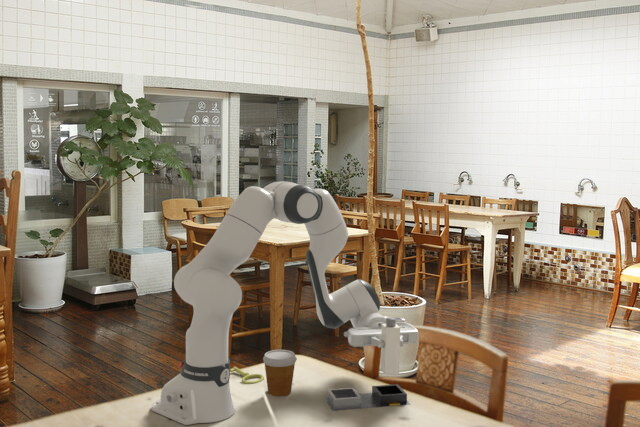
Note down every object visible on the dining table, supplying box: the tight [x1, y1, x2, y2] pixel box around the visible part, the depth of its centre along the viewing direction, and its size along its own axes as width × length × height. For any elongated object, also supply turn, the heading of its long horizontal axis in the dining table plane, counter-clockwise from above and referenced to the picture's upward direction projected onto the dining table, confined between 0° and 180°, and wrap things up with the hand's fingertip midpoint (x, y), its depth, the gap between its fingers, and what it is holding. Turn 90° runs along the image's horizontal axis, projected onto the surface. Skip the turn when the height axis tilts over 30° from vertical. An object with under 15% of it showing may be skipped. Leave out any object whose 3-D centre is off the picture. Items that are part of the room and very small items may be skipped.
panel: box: [323, 383, 411, 412], centre depth 191 cm, size 22×10×4 cm, turn 103°
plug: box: [380, 316, 401, 375], centre depth 191 cm, size 4×4×15 cm
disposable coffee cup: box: [262, 349, 298, 397], centre depth 196 cm, size 10×10×12 cm
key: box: [230, 366, 265, 385], centre depth 210 cm, size 7×12×2 cm, turn 61°
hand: (391, 344), depth 190 cm, fingers closed on plug, 4 cm apart
